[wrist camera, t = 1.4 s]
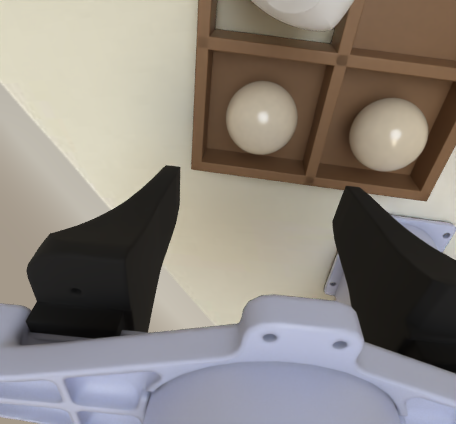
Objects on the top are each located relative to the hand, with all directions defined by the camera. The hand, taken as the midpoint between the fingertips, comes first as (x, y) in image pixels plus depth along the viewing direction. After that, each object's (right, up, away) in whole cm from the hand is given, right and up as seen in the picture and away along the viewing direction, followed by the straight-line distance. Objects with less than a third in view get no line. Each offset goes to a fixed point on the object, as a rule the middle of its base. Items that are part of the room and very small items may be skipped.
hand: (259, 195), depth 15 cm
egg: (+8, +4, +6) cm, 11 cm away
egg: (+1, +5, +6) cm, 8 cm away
